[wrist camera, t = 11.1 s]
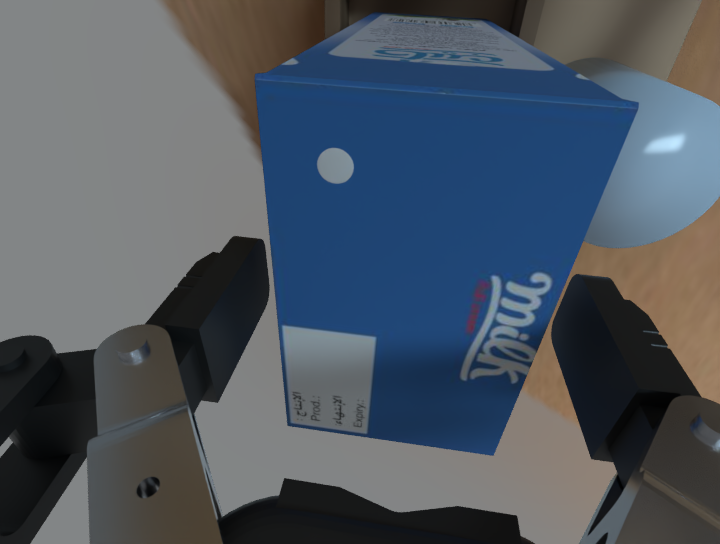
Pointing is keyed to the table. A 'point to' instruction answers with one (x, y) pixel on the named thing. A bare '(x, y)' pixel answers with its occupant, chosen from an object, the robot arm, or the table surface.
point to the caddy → (558, 25)
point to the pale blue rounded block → (655, 159)
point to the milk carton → (425, 220)
